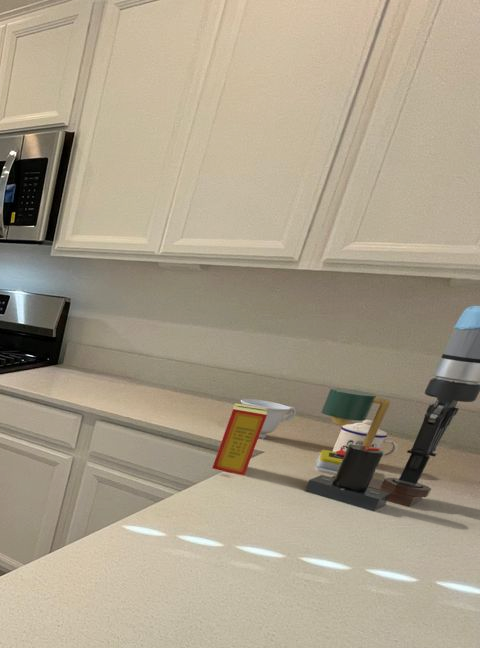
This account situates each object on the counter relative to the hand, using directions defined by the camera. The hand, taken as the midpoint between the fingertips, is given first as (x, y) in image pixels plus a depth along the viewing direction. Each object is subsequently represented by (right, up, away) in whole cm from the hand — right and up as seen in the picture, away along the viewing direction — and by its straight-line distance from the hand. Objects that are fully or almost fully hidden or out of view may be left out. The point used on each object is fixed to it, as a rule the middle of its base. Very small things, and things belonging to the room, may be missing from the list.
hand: (407, 481), depth 133 cm
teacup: (+7, +12, +48) cm, 50 cm away
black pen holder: (-14, -1, -1) cm, 14 cm away
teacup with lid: (+17, +4, +28) cm, 33 cm away
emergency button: (+4, +2, +20) cm, 21 cm away
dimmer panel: (-15, -4, 0) cm, 15 cm away
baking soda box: (-28, +3, +16) cm, 32 cm away
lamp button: (0, -2, +1) cm, 2 cm away
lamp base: (-2, -3, +5) cm, 6 cm away
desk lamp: (-7, +4, +10) cm, 13 cm away
